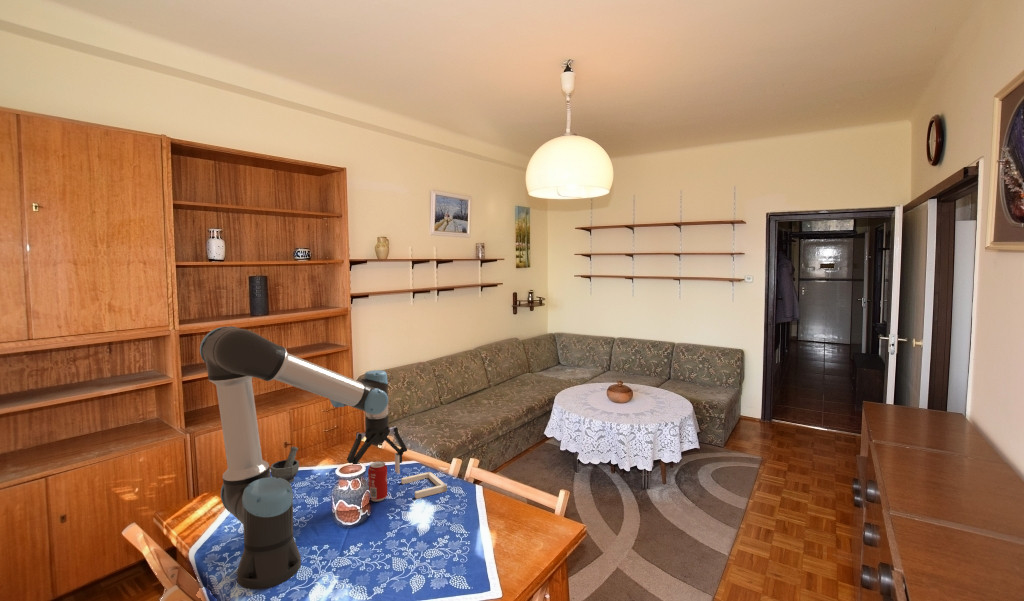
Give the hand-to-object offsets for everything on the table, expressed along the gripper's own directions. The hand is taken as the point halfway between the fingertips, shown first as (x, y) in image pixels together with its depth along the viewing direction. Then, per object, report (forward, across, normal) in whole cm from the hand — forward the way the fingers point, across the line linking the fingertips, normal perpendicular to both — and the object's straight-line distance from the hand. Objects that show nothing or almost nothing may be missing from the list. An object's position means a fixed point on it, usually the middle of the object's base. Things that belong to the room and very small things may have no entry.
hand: (378, 477), depth 167 cm
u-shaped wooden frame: (+8, -16, 0) cm, 17 cm away
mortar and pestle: (+8, +25, -32) cm, 41 cm away
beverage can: (+8, 0, 0) cm, 8 cm away
